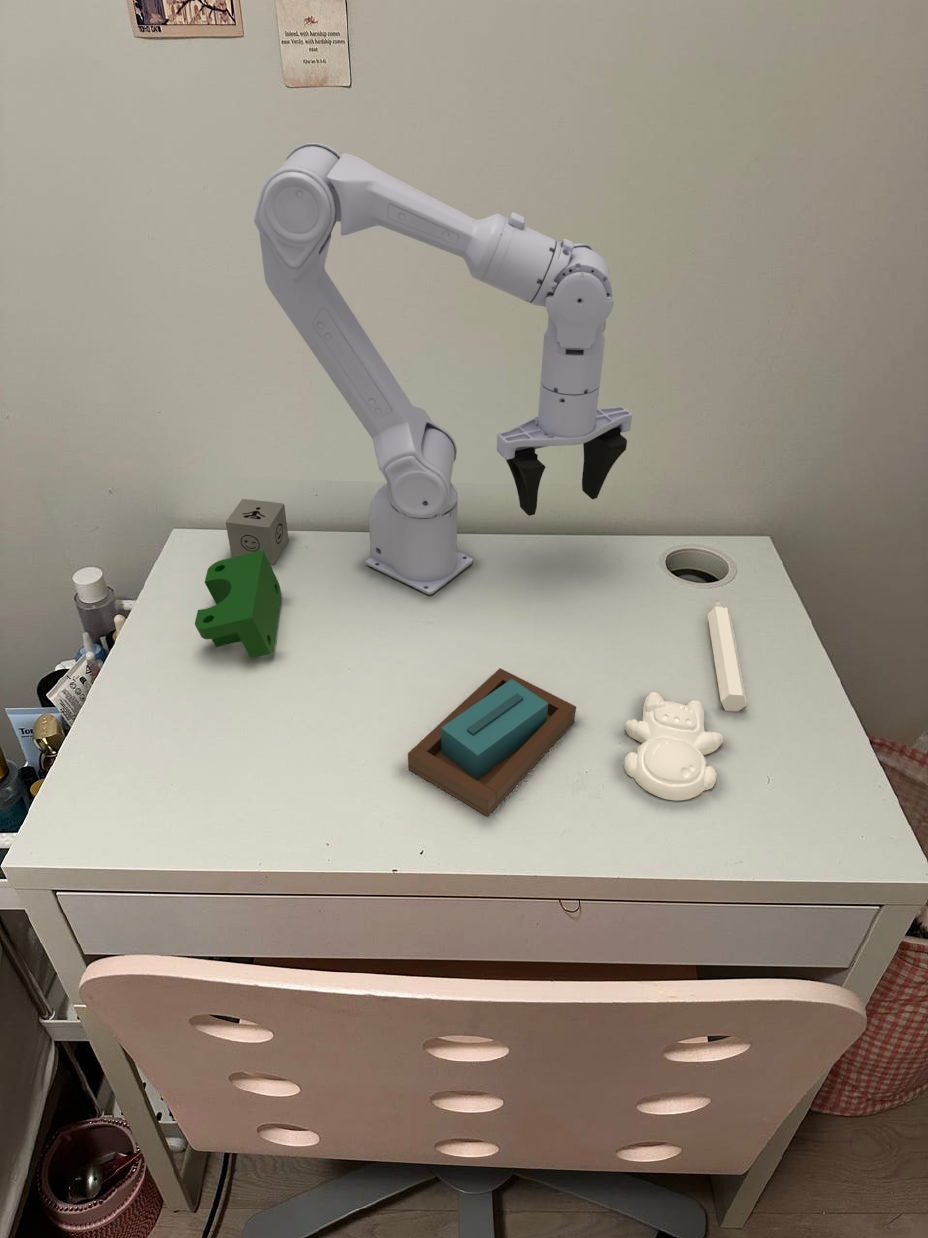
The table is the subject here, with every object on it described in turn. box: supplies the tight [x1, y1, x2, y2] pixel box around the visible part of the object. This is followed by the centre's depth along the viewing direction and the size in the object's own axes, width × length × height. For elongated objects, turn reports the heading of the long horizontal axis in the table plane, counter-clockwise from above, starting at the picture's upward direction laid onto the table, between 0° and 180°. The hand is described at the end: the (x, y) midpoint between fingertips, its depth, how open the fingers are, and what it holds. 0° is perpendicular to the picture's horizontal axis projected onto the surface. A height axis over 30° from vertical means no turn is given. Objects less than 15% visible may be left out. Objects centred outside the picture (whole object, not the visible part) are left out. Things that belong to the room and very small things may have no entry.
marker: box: [707, 600, 748, 712], centre depth 93 cm, size 3×2×16 cm
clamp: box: [194, 550, 282, 659], centre depth 94 cm, size 12×6×9 cm, turn 178°
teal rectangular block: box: [441, 679, 548, 780], centre depth 83 cm, size 9×4×4 cm, turn 135°
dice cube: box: [225, 498, 290, 565], centre depth 106 cm, size 5×5×5 cm
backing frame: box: [407, 668, 577, 817], centre depth 83 cm, size 14×9×2 cm, turn 143°
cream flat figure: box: [623, 691, 724, 801], centre depth 83 cm, size 9×12×3 cm
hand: (558, 502), depth 98 cm, fingers open, 7 cm apart
